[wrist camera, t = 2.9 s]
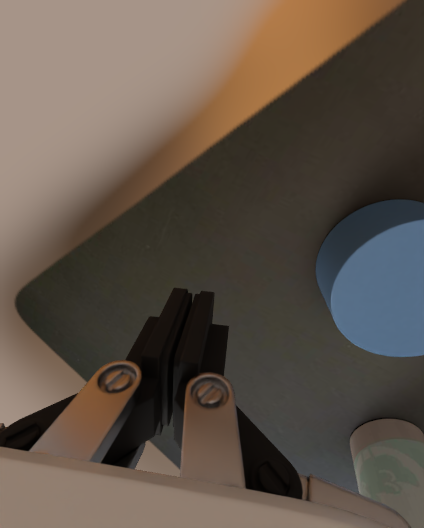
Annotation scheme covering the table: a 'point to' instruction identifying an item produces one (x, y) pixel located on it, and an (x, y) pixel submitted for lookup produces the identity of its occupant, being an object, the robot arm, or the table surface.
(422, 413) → the table surface
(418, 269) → the puck
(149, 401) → the robot arm
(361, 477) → the coffee cup
